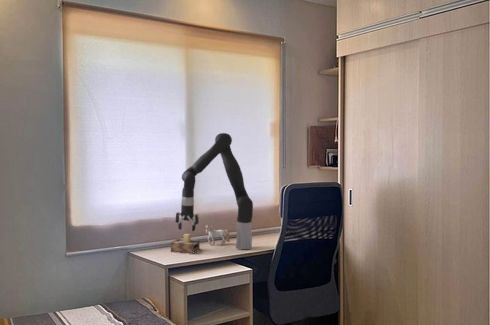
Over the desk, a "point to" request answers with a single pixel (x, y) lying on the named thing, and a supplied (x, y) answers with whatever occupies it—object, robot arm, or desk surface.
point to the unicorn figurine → (217, 234)
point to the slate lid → (187, 239)
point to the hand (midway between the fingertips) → (186, 230)
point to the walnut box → (184, 246)
